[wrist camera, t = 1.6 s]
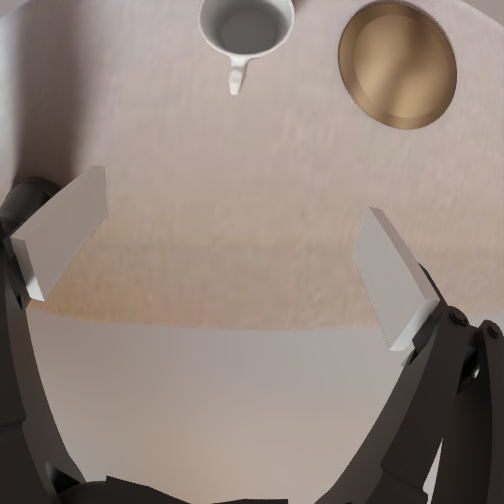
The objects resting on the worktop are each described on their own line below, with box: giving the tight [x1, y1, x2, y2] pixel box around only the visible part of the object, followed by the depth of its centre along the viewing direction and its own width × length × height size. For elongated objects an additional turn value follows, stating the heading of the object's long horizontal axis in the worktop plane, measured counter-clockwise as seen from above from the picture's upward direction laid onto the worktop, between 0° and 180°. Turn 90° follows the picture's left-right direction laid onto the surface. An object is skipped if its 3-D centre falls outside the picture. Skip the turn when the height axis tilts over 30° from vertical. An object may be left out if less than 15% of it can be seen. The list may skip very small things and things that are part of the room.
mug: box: [198, 0, 295, 95], centre depth 21 cm, size 10×7×12 cm, turn 170°
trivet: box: [338, 4, 457, 130], centre depth 26 cm, size 16×16×1 cm
